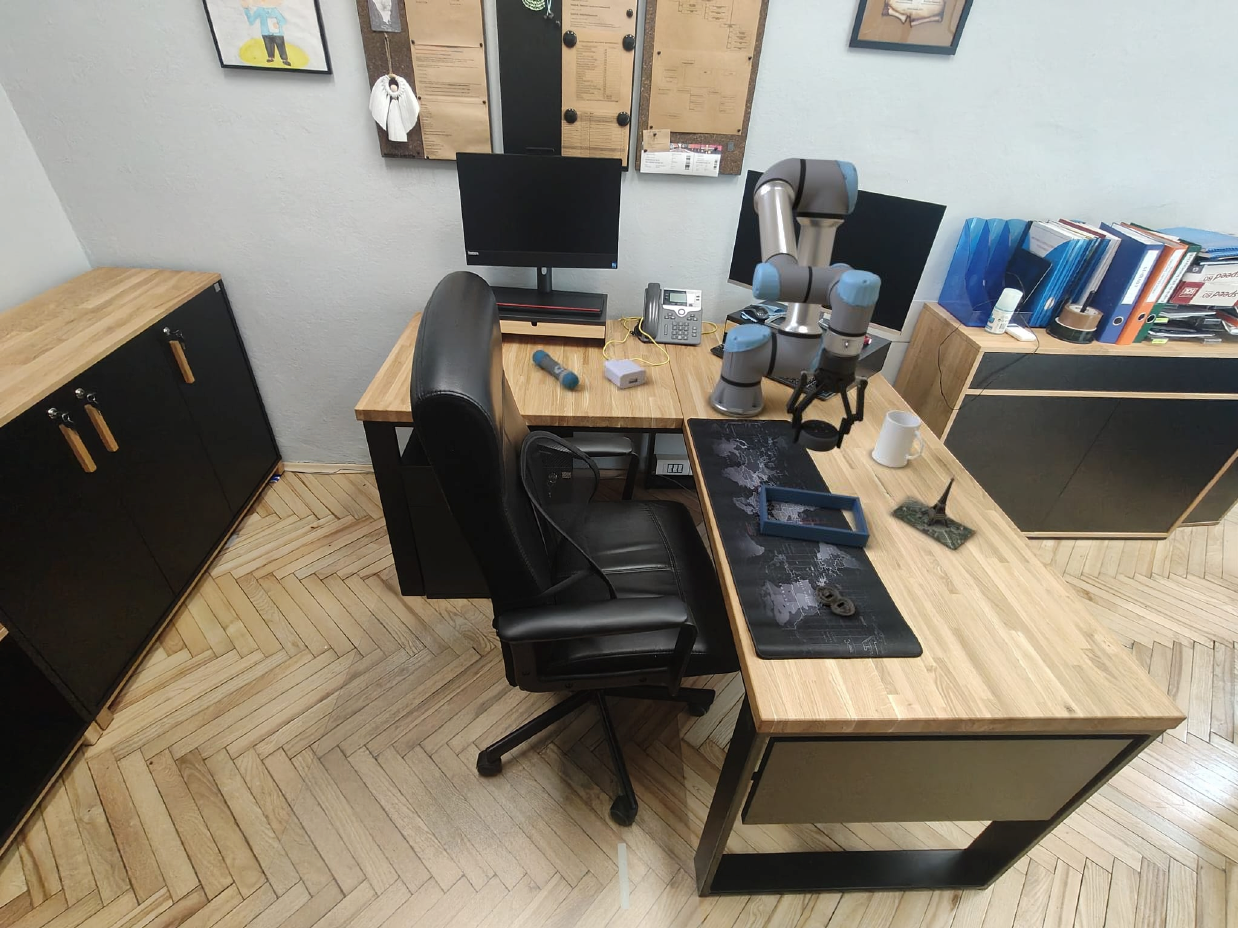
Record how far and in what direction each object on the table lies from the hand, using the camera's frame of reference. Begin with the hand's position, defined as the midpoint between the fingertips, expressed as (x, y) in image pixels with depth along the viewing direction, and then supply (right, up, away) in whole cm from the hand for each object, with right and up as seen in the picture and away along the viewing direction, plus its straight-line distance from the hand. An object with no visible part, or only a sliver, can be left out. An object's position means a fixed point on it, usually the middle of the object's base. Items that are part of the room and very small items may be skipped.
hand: (815, 442), depth 134 cm
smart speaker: (0, 0, 0) cm, 0 cm away
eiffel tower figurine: (+25, -18, -2) cm, 31 cm away
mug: (+26, -4, +18) cm, 31 cm away
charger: (-44, +22, +51) cm, 71 cm away
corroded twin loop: (-5, -31, -23) cm, 39 cm away
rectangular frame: (-3, -17, -4) cm, 18 cm away
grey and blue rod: (-64, +22, +49) cm, 83 cm away
